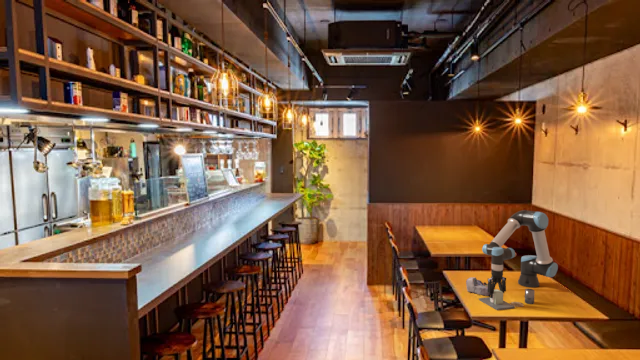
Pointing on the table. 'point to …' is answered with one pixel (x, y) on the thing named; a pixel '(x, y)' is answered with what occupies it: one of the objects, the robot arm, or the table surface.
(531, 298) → the dark tin
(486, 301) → the slate board
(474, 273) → the table surface
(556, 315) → the table surface
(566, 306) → the table surface
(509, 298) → the table surface
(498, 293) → the sage block
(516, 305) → the cork coaster
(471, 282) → the cell model
